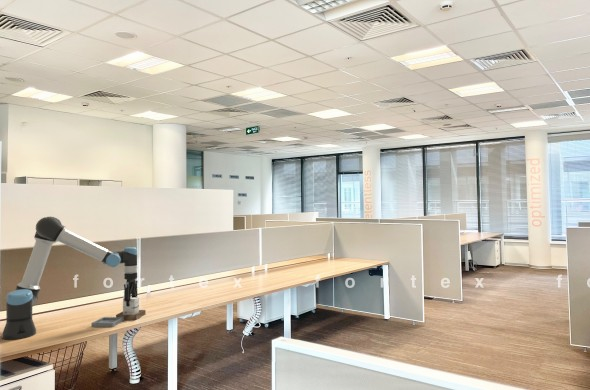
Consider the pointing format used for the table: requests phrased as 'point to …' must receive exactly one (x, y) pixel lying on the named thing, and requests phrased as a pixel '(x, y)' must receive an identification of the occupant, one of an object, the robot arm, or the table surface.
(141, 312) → the brown wooden box
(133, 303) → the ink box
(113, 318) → the tray
